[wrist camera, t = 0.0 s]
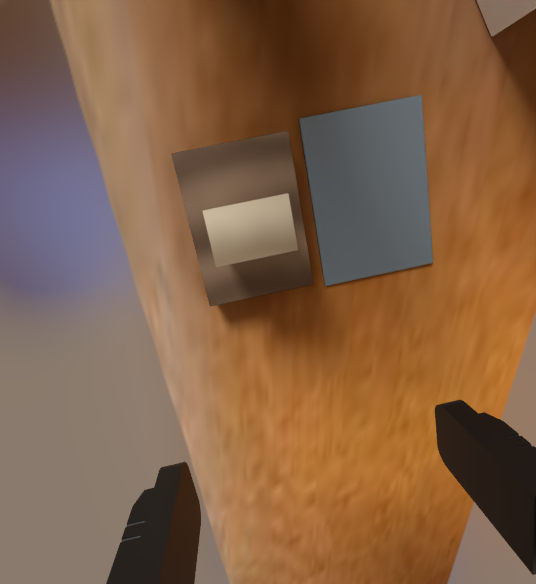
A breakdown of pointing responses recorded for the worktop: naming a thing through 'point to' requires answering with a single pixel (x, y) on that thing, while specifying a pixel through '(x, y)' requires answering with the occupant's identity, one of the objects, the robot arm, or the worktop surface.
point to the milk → (504, 12)
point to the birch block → (251, 230)
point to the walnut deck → (236, 189)
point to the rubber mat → (369, 188)
